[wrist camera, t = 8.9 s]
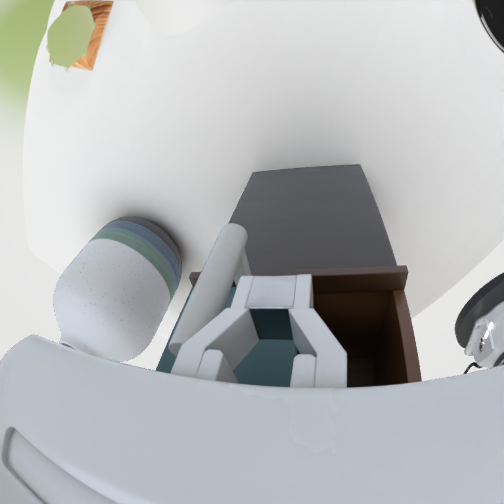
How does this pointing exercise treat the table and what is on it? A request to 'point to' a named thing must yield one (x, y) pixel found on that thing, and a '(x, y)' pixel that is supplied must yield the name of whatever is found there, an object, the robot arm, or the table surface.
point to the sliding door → (218, 299)
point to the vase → (117, 290)
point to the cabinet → (334, 263)
